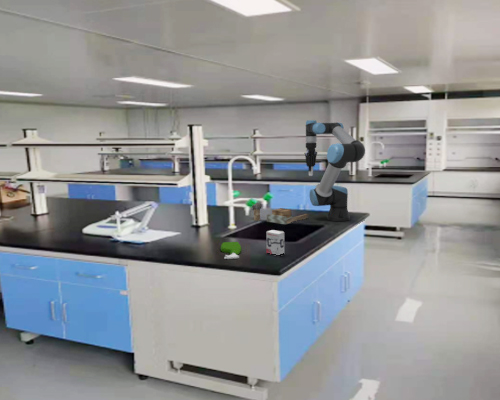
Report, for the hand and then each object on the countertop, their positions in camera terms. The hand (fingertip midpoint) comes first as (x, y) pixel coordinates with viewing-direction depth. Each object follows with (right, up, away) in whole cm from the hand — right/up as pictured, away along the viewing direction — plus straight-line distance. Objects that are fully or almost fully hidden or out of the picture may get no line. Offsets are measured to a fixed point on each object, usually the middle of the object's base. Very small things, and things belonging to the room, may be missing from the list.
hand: (310, 175), depth 324 cm
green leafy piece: (-53, -45, -87) cm, 112 cm away
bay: (-17, -31, -7) cm, 36 cm away
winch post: (-39, -31, -7) cm, 50 cm away
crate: (-22, -32, -12) cm, 41 cm away
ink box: (-30, -45, -91) cm, 106 cm away
